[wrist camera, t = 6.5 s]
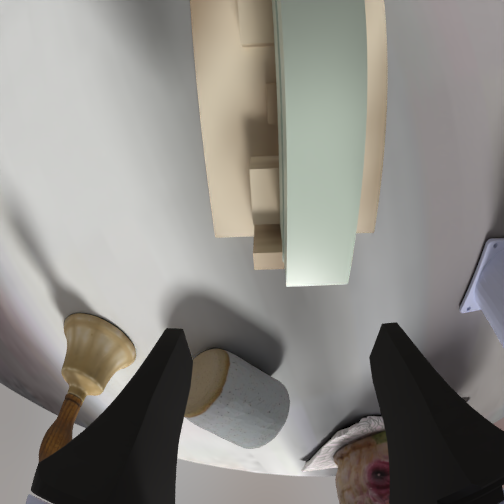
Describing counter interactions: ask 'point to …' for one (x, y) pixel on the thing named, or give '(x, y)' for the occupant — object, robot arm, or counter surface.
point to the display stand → (266, 119)
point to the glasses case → (320, 134)
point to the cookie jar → (357, 462)
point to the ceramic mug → (235, 399)
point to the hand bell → (86, 371)
